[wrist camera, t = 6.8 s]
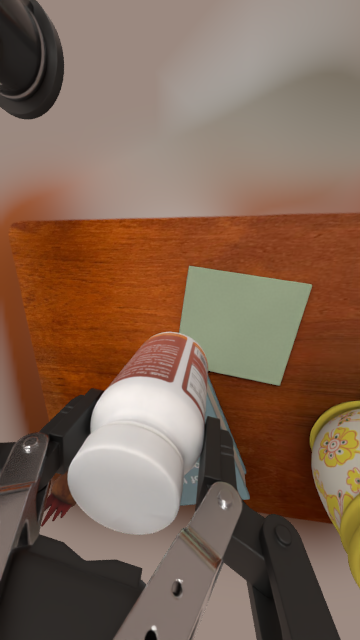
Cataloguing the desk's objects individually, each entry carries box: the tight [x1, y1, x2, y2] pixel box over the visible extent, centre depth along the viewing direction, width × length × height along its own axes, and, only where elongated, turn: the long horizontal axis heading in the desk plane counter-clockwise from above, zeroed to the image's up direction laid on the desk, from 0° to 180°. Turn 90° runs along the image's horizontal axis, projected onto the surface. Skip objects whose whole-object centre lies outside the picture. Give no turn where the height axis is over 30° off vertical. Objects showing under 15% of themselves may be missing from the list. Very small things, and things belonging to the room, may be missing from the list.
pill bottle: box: [67, 332, 208, 535], centre depth 14 cm, size 6×6×11 cm
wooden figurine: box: [41, 468, 76, 526], centre depth 37 cm, size 7×6×15 cm
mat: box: [179, 266, 312, 386], centre depth 33 cm, size 16×17×1 cm
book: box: [180, 377, 250, 505], centre depth 37 cm, size 23×16×5 cm
